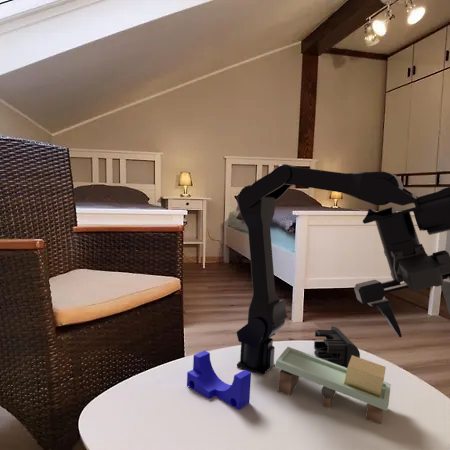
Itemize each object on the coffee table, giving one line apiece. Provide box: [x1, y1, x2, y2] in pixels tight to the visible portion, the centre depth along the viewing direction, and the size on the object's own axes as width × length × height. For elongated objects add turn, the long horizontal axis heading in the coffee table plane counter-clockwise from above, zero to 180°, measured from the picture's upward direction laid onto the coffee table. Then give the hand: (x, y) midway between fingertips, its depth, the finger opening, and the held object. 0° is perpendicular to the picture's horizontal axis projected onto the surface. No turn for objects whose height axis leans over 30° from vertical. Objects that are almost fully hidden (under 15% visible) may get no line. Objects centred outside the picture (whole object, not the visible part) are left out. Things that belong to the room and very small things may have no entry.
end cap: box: [313, 325, 361, 368], centre depth 84 cm, size 10×7×7 cm
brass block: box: [344, 355, 387, 398], centre depth 66 cm, size 6×5×4 cm
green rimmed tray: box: [274, 346, 392, 412], centre depth 69 cm, size 20×7×2 cm, turn 63°
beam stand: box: [277, 369, 384, 425], centre depth 69 cm, size 18×7×4 cm, turn 63°
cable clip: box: [186, 350, 252, 410], centre depth 69 cm, size 12×4×6 cm, turn 48°
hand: (427, 330), depth 62 cm, fingers open, 9 cm apart
